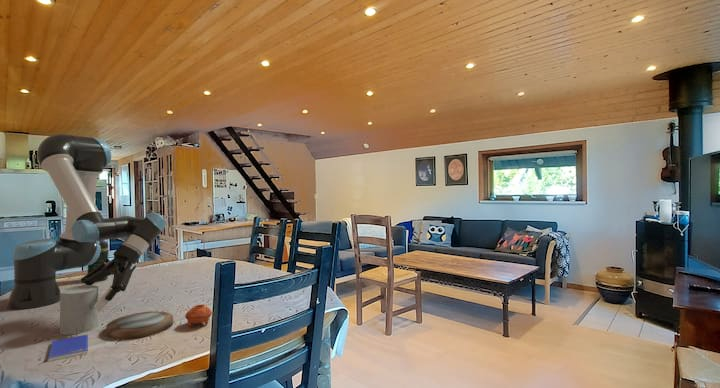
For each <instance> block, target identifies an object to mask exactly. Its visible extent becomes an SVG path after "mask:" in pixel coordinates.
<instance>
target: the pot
mask: <svg viewBox="0 0 720 388" xmlns="http://www.w3.org/2000/svg"><path fill="white" fill-rule="evenodd" d="M212 314H213V311H212V310H211V309H210V308H209V307H208V306H206V305H205V304H196V305H193V306H192V308H189V310H188V311H187V312H186V313H185V316H184V317H185V319H186V320H187V325H188V327H189V328H191V325H192V324H201V323H204V324H205V326H208V324H209V319H210V317H211V316H212Z"/></svg>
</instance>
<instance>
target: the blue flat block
mask: <svg viewBox="0 0 720 388" xmlns="http://www.w3.org/2000/svg"><path fill="white" fill-rule="evenodd" d="M88 353H89V335H88V334H85V335H79V336H73V337H67V338H63V339H57V340H53V341H51V344H50V349H49V352H48V355H47V362H48V363H49V362H53V361H57V360H62V359H67V358H72V357H73V358H74V357H77V356H82V355H85V354H88Z"/></svg>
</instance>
